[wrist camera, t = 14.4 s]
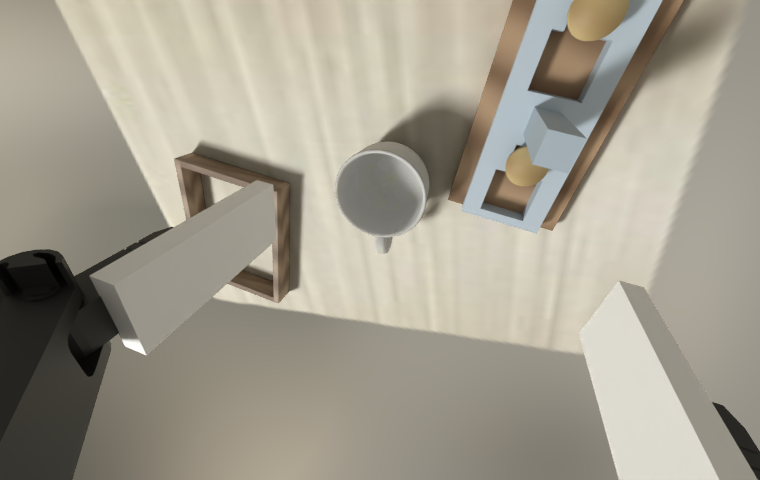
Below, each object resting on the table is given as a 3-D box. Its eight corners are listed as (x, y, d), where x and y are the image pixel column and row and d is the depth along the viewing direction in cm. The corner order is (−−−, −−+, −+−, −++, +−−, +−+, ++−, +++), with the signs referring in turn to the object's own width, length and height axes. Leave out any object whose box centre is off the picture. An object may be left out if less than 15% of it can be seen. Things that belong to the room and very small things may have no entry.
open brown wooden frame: (192, 152, 51) (174, 158, 49) (290, 183, 48) (277, 192, 46) (210, 261, 64) (196, 271, 61) (288, 291, 61) (278, 303, 58)
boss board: (548, -109, 26) (558, -141, 22) (725, -87, 24) (776, -118, 19) (449, 195, 42) (443, 212, 37) (550, 225, 39) (557, 247, 35)
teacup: (364, 124, 40) (339, 139, 34) (447, 146, 39) (436, 166, 32) (351, 217, 48) (328, 243, 42) (419, 239, 46) (406, 270, 40)
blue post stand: (549, -38, 27) (580, -90, 17) (664, -19, 25) (774, -65, 15) (462, 204, 40) (450, 257, 30) (535, 225, 38) (548, 289, 28)
